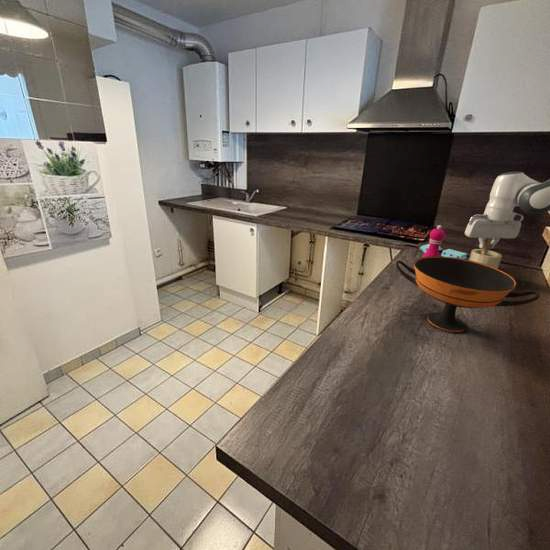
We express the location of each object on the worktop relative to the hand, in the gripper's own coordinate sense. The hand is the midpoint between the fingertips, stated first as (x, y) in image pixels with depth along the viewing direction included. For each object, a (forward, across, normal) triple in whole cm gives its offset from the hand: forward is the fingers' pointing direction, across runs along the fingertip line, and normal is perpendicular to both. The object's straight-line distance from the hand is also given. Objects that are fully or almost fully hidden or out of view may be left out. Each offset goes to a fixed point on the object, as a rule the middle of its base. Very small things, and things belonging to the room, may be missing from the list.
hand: (486, 247), depth 121 cm
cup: (+14, -36, -37) cm, 53 cm away
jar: (+13, +1, 0) cm, 13 cm away
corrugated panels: (+14, +5, +24) cm, 28 cm away
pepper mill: (+14, -16, +10) cm, 23 cm away
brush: (+11, 0, 0) cm, 11 cm away
